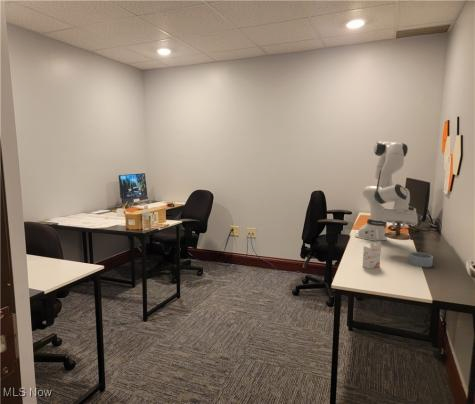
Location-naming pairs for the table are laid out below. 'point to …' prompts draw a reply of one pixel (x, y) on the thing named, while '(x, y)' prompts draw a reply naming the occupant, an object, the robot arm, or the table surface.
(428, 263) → the bowl
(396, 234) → the lid
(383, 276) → the table surface
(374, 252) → the ink cartridge box
